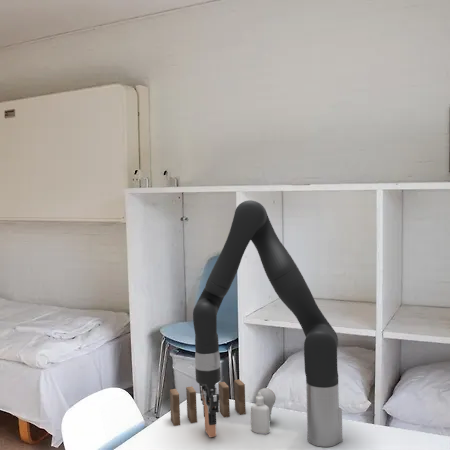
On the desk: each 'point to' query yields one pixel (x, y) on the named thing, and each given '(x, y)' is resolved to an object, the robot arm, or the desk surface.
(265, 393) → the lightbulb
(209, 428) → the domino
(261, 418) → the eye dropper bottle
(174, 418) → the domino
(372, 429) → the desk surface
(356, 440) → the desk surface
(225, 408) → the domino
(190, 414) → the domino
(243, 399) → the domino
